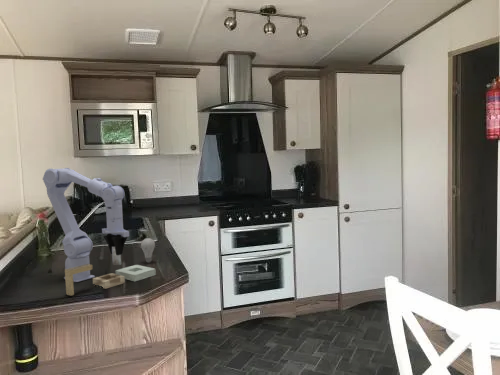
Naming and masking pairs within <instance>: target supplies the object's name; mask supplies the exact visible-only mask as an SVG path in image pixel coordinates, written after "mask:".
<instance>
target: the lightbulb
mask: <svg viewBox="0 0 500 375" xmlns="http://www.w3.org/2000/svg"><path fill="white" fill-rule="evenodd" d="M155 247H156V243H155V241H154V239H152V238H150V237H149V238H144V239H143V240H142V241H141V243H140V248H141V249H142V251H143V254H144V258H145V262H146V263H148V264H150V263H151V262H152V260H153V259H152V257H153V252H154V250H155Z"/></svg>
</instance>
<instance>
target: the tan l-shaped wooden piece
mask: <svg viewBox="0 0 500 375" xmlns="http://www.w3.org/2000/svg"><path fill="white" fill-rule="evenodd" d="M88 270H90V271H92V270H93V264H85V265H81V266H77V267H73V268H69V269H65V268H64V277H65V279H64V280H65V281H64V282H65V293H66V295H67V296H75V291H74V290H75V289H74V281H73V274H77V273H80V272H84V271H88Z"/></svg>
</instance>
